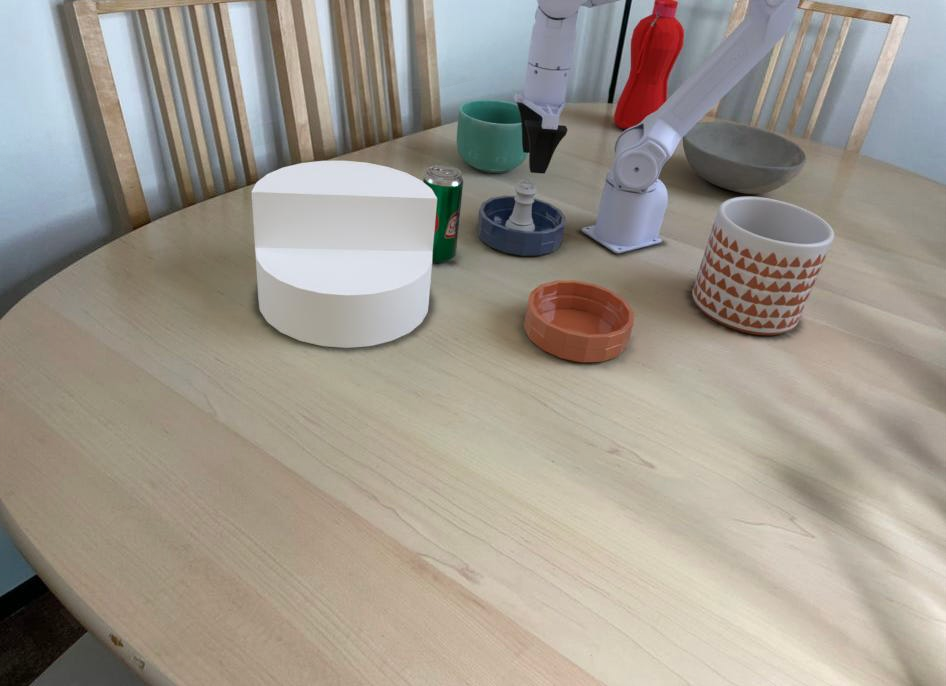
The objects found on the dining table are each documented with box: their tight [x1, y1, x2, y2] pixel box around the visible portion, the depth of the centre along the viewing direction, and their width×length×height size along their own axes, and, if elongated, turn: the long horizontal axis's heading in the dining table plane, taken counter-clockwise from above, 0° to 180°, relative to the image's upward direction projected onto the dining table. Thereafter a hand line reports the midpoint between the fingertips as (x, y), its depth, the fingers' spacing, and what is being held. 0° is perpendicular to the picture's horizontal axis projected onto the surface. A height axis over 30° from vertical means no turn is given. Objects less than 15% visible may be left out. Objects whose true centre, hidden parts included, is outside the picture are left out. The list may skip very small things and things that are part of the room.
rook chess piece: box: [505, 178, 538, 231], centre depth 105 cm, size 4×4×8 cm
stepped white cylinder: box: [251, 160, 437, 349], centre depth 85 cm, size 20×20×13 cm
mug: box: [456, 99, 529, 174], centre depth 128 cm, size 17×13×10 cm
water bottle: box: [613, 0, 685, 131], centre depth 148 cm, size 9×11×25 cm
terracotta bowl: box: [523, 279, 635, 363], centre depth 87 cm, size 12×12×4 cm
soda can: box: [422, 164, 464, 264], centre depth 97 cm, size 5×5×12 cm
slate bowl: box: [476, 195, 567, 257], centre depth 106 cm, size 12×12×4 cm
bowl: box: [682, 121, 807, 195], centre depth 132 cm, size 21×21×8 cm
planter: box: [691, 196, 835, 336], centre depth 94 cm, size 14×14×13 cm
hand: (533, 162), depth 107 cm, fingers open, 7 cm apart
